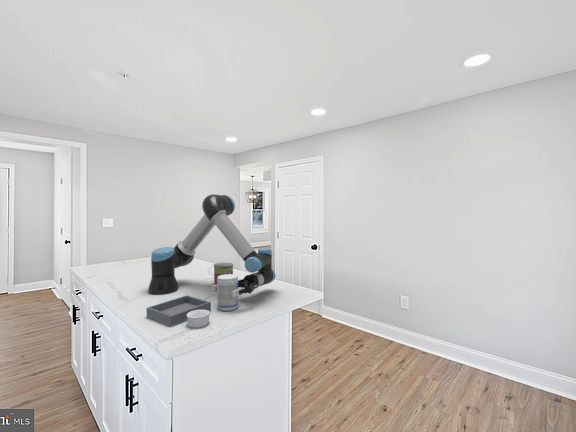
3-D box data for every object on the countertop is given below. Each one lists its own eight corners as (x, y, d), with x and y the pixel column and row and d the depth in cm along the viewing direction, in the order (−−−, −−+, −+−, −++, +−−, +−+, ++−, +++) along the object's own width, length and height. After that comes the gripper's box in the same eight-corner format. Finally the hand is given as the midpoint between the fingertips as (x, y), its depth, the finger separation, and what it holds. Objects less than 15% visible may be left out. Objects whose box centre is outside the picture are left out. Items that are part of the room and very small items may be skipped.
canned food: (223, 287, 161) (223, 267, 161) (210, 284, 167) (209, 264, 167) (237, 283, 171) (237, 263, 170) (223, 280, 177) (223, 261, 176)
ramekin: (181, 326, 109) (181, 315, 109) (196, 318, 117) (196, 308, 117) (200, 330, 106) (200, 319, 106) (214, 321, 114) (214, 311, 114)
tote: (146, 317, 118) (146, 307, 118) (186, 303, 135) (186, 295, 135) (170, 326, 109) (170, 316, 109) (210, 310, 125) (210, 302, 125)
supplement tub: (241, 309, 128) (241, 277, 127) (221, 313, 123) (221, 280, 122) (233, 302, 136) (233, 272, 136) (214, 306, 131) (214, 275, 130)
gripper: (272, 292, 137) (242, 305, 120) (235, 284, 151) (204, 294, 133) (272, 277, 137) (242, 287, 119) (235, 270, 151) (204, 279, 133)
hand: (222, 291), depth 126 cm, fingers open, 12 cm apart
